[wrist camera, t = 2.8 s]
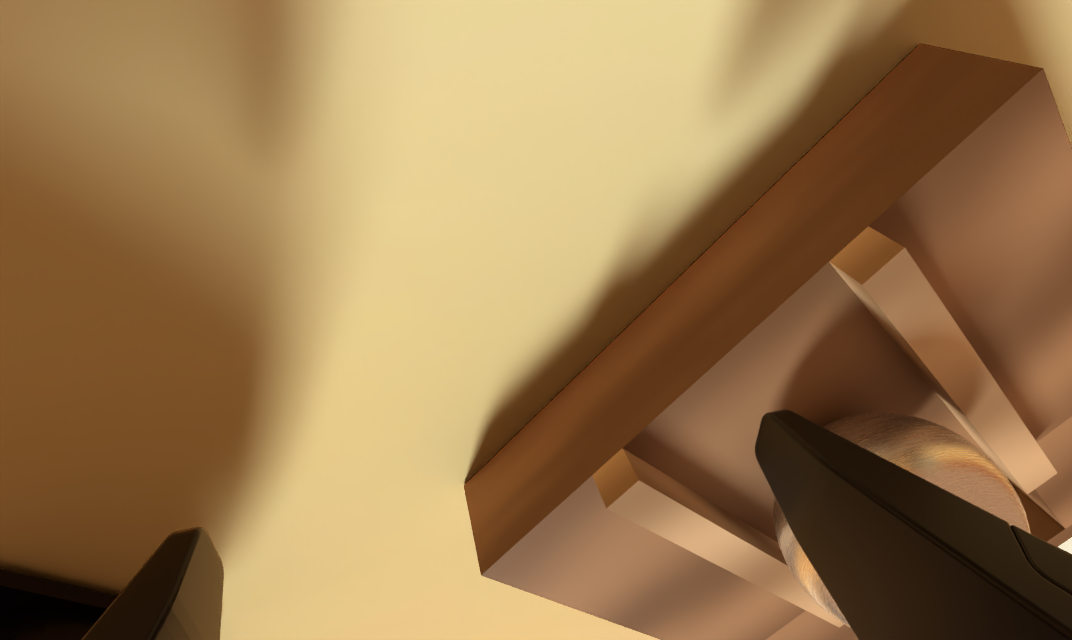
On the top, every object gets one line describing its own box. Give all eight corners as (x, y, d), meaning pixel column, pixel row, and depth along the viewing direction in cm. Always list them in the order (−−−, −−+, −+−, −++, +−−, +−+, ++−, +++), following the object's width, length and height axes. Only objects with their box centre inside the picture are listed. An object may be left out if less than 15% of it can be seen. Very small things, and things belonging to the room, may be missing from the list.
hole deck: (463, 485, 18) (488, 611, 14) (920, 43, 14) (1097, 79, 10) (788, 633, 28) (845, 725, 25) (1099, 407, 24) (1215, 482, 21)
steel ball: (698, 472, 15) (824, 673, 11) (859, 335, 14) (1068, 504, 10) (792, 533, 18) (921, 712, 14) (934, 422, 17) (1124, 583, 12)
